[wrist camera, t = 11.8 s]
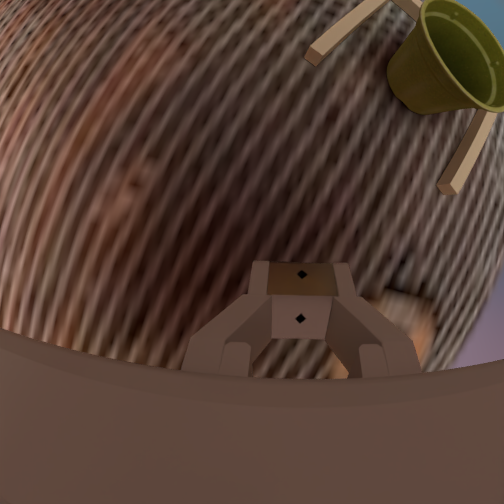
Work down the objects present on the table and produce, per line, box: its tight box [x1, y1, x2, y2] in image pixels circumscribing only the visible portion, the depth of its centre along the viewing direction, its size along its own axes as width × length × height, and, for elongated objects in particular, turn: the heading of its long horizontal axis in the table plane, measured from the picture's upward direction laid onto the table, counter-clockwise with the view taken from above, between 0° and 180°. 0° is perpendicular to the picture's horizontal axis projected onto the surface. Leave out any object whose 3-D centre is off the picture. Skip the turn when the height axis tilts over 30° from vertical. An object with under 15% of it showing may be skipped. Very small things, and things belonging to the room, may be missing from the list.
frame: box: [304, 0, 497, 195], centre depth 20 cm, size 16×15×2 cm
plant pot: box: [387, 0, 504, 115], centre depth 16 cm, size 9×9×9 cm
